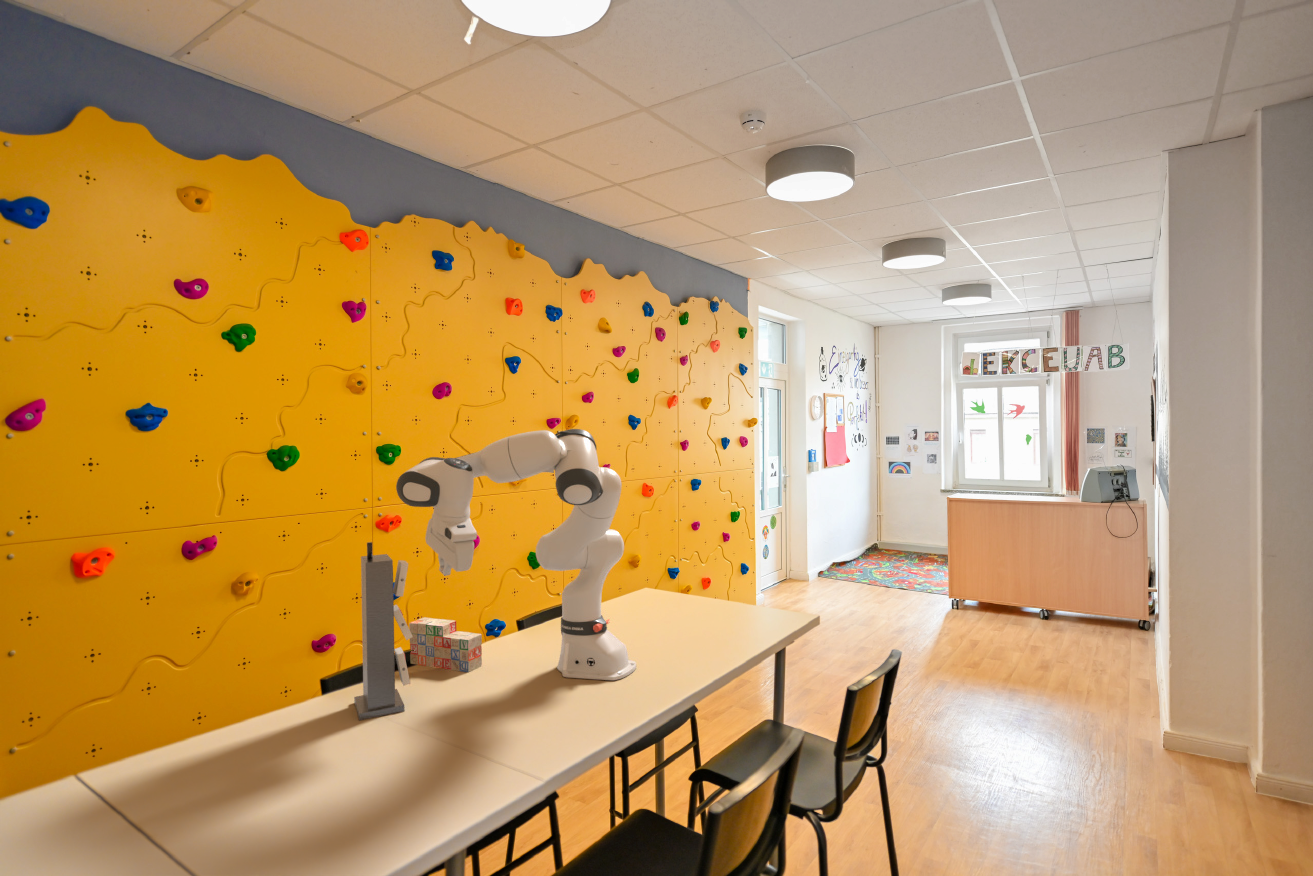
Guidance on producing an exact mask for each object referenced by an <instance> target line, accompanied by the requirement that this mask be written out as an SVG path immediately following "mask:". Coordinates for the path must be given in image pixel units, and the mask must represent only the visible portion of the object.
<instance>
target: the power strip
mask: <svg viewBox="0 0 1313 876" xmlns="http://www.w3.org/2000/svg"><path fill="white" fill-rule="evenodd" d="M373 553H374V552H373V542H372V541H369V542H366V555H364V556H360V562H361V563H360V567H361V569H360V570H361V571H360V572H361V576H360V579H361V623H362V624H361V629H362V631H361V632H362V636H361V637H362V639H361V640H362V685H363V686H362V687H363V688H362V691H363V693H362V695H358V696H354V697H353V699H354V701H353V702H354V706H355V709H356V713H357V717H358V721H363V720H368V719H373V718H377V717H382V716H388V715H393V714H397V713H402V712H405V710H406V709H405V703H404V701H403V698H402V697H401V695H400V692H399V691H398V689H397V688H396V675H395V674H396V673H395V670H396V669H395V662H396V660H395V659H396V658H395V651H394V649H395V617H394V604H395V603H394V600H395V599H394V593H393V590H394V565H393V564H394V561H393V559H392V558H391V557H390V556H389V554H387V553H385V554H375V555H373Z"/></svg>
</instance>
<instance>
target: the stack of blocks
mask: <svg viewBox="0 0 1313 876" xmlns="http://www.w3.org/2000/svg"><path fill="white" fill-rule="evenodd" d="M408 625H409V626H408V628H409V630H410V632H411V634H412V636H413V637H412V638H410V639H409V650H414V651H411V652H410V651H409V652H410V654H409V657H410V659H409V660H410V661H409V662H410V664H411V665H417V666H424V667H430V668H438V669H444V670H450V671H457V672H461V673H462V672H463V673H470V672H472V671H474V670H476V669H478V668H480V667H481V665H482V664H483V661H482V660H483V659H482V655H483V653H482V644H483V643H482V642H483V641H482V640H483V639H482V634H481V633H475V632H469V631H460V630H459V631H458V630H457V620H453V619H444V618H441V619H440V618H432V617H425V616H424V617H421V618H418V619H417V620H414V621H410V622H409V624H408ZM482 666H483V665H482Z"/></svg>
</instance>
